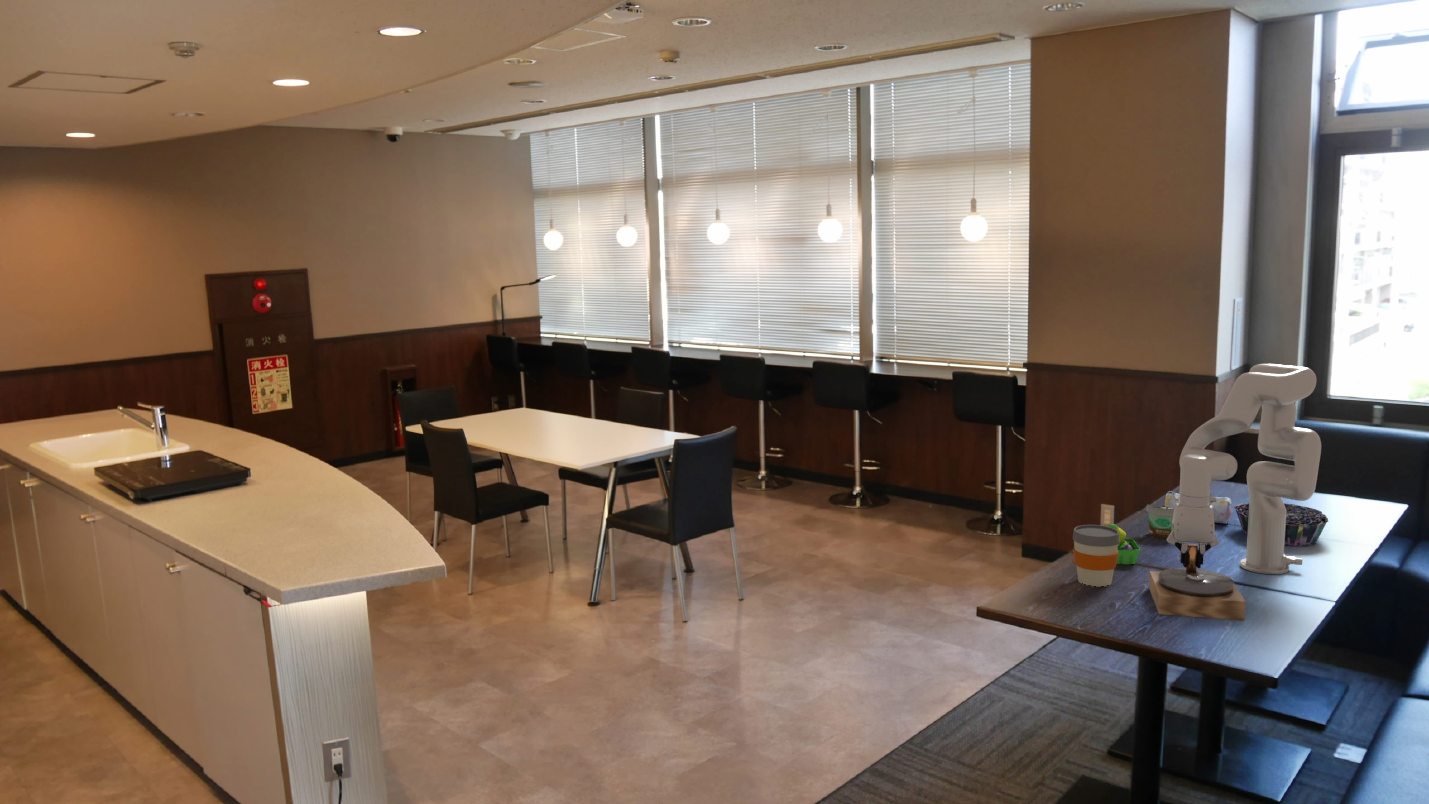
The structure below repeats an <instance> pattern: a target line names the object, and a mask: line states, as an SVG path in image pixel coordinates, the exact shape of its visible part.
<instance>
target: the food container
mask: <svg viewBox="0 0 1429 804" xmlns="http://www.w3.org/2000/svg"><path fill="white" fill-rule="evenodd" d="M1145 507H1146V508H1145V511H1146V512H1147V517H1148V520H1147V521H1148V531H1149V532H1148V533H1149V535H1150V536H1152V537H1154V538H1157V537H1158V538H1157V539H1161V540H1162V539H1163V540H1167V538H1168V536H1169V535H1170V533H1171V531H1172V521H1173V514H1174V509H1175V508H1171V507H1163V506H1152V505H1149V504H1148V503H1147V504H1146V506H1145Z"/></svg>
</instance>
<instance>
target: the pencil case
mask: <svg viewBox="0 0 1429 804" xmlns="http://www.w3.org/2000/svg"><path fill="white" fill-rule="evenodd" d="M1215 497H1216V502H1213V503H1211V505H1212V507H1213V513H1214V523H1217V524H1225V525H1226V524H1227V523H1228V524H1229V523H1230V519H1231V515H1232V500H1231V498H1230V497H1226V496H1225V497H1222V496H1221V497H1220V496H1219V497H1218V496H1215ZM1164 498H1165V501H1164V504H1162V507H1171V508H1175V505H1176V503H1179V493H1177V492H1175V491H1172V490H1171V491H1170V490H1169V491H1167V493H1166V495H1165V497H1164ZM1228 524H1227V525H1228Z"/></svg>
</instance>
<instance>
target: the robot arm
mask: <svg viewBox="0 0 1429 804" xmlns="http://www.w3.org/2000/svg"><path fill="white" fill-rule="evenodd" d="M1316 386H1317V375H1316V373H1315V372H1314V371H1313V370H1312V369H1311V368H1310V367H1305V366H1300V365H1297V366H1296V365H1286V364H1285V365H1284V364H1276V363H1258V364H1255V365H1253V366H1252V367H1251V368H1250V369H1249V372H1244V373H1242V374H1240V375H1238V377H1237V378H1236V380H1235V382H1234V383H1233V386H1232V388H1231V389H1230V391H1229V394H1228V396H1227V398H1226V399H1225V401H1224V404H1223V405H1222V407H1221V410H1220V411H1219V413H1218V414H1217V415H1216V416H1214V417H1213V418H1210V419H1209V420H1207V421H1206V422H1204V423H1203V424H1201V425H1200V426H1199V427H1197V428H1196V429H1195V430H1194V431H1193V432H1192V433H1191V434H1190V435H1189V437H1188V439H1187V441H1186V442H1185V445H1184V446H1183V448H1182V450H1181V453H1180V456H1179V460H1178V461H1179V462H1178V463H1179V468H1180V474H1179V475H1180V476H1179V478H1180V479H1179V493H1178V494H1179V503H1176V505H1175V509H1174V514H1173V521H1172V531H1171V533H1170V535H1169V536H1168V538H1167V539H1166V542H1167V543H1168V544H1170V545H1172V546H1175V547H1176V548H1177V549H1178V551H1179V552H1180V560H1179V561H1180V564H1182V566H1183V568H1186V567H1187V562H1188V553H1187V545H1188V543H1191V544H1193V543H1194V544H1195V543H1196V544H1197V543H1198V544H1197V546H1198V553H1197V569H1202V568H1201V567H1202V566H1201V565H1204V555H1205V554H1206V553H1207V552H1208V551H1209V550H1210V549H1211V548H1215V547H1217V546H1219V545H1220V541H1219V540H1218V538H1217V536H1216V534H1215V533H1216V532H1215V522H1214V513H1213V507H1212V505H1211V503H1213V502H1216V497H1217V496H1212V495H1211V493H1212V492H1211V491H1212V481H1225V480H1226V481H1227V480H1229V479H1231V478H1233V477H1234V475H1235V474H1236V473H1237V471H1238V460H1237V459H1236V457H1234V456H1233V455H1231V454H1230V453H1227V452H1222V451H1215V450H1213V449H1205V448H1206V447H1207V446H1209V445H1210V444H1211V443H1213V442H1214V441H1216V440H1219V439H1222V438H1225V437H1226V438H1227V437H1229V436H1233V435H1238V434H1241V433H1243V432H1247V431H1249V429H1250V428H1251V427H1252V425H1253V423H1254V421H1255V419H1256V417H1257V415H1258V413H1259V410H1260V409H1261V418H1260V423H1259V431H1258V437H1257V449H1258V451H1259V453H1260V454H1262V455H1264V456H1265V457H1270V458H1276V459H1282V460H1287V461H1293V462H1294V465H1291V464H1285V463H1281V462H1276V461H1275V462H1273V461H1267V460H1264V461H1262V460H1261V461H1256V462H1254V463H1252V464H1250V466H1249V467H1248V469H1247V471H1246V472H1247V473H1246V483H1247V488H1248V489H1247V490H1248V503H1249V516H1248V534H1246V535H1247V537H1246V540H1247V541H1246V554H1245V556H1246V557H1245V558H1242V559H1240V561H1239V566H1240V567H1241V568H1242V569H1245V570H1246V571H1250V572H1253V573H1258V574H1265V575H1280V574H1281V575H1282V574H1286V573H1288V572H1289V571H1290V565H1296V566H1302V565H1303V558H1301V557H1300V558H1299V557H1296V556H1291V555H1290V556H1287V555H1286V554H1285V545H1284V543H1285V527H1286V508H1285V505H1284V501H1283V499H1288V500H1294V501H1299V502H1302V501H1303V502H1304V501H1308V500H1309V499H1310V498H1312V496H1313V495H1314V493H1315V492H1316V491H1315V490H1316V486H1317V480H1318V475H1319V474H1318V473H1319V467H1320V460H1321V454H1322V441H1321V437H1320V435H1319V434H1318V432H1316V431H1315V430H1313V429H1310V428H1304V427H1298V426H1295V424H1296V415H1297V409H1296V405H1295V403H1296V402H1299V401H1300V400H1303V399H1305V398H1307V397H1309V396H1310V395H1311V394H1312V393H1313V392H1314V390H1315V388H1316Z"/></svg>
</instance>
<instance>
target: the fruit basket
mask: <svg viewBox="0 0 1429 804" xmlns="http://www.w3.org/2000/svg"><path fill="white" fill-rule="evenodd" d="M1107 527H1111V528H1114V529H1116V530H1118V531H1119V538H1120V543H1119V544H1118V548H1117V550H1118V557H1117V563H1116V565H1132V564H1136V562H1137V559H1138V555H1139V553H1140V552H1141V548H1140V547H1139V546H1138V544H1137V542H1136V540H1134V539H1133V538H1126V537H1127V533H1126V532H1125V530H1123V529H1122V528H1120V527H1119V526H1118V525H1117V524H1115V523H1111V524H1110V523H1109V524H1107Z"/></svg>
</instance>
